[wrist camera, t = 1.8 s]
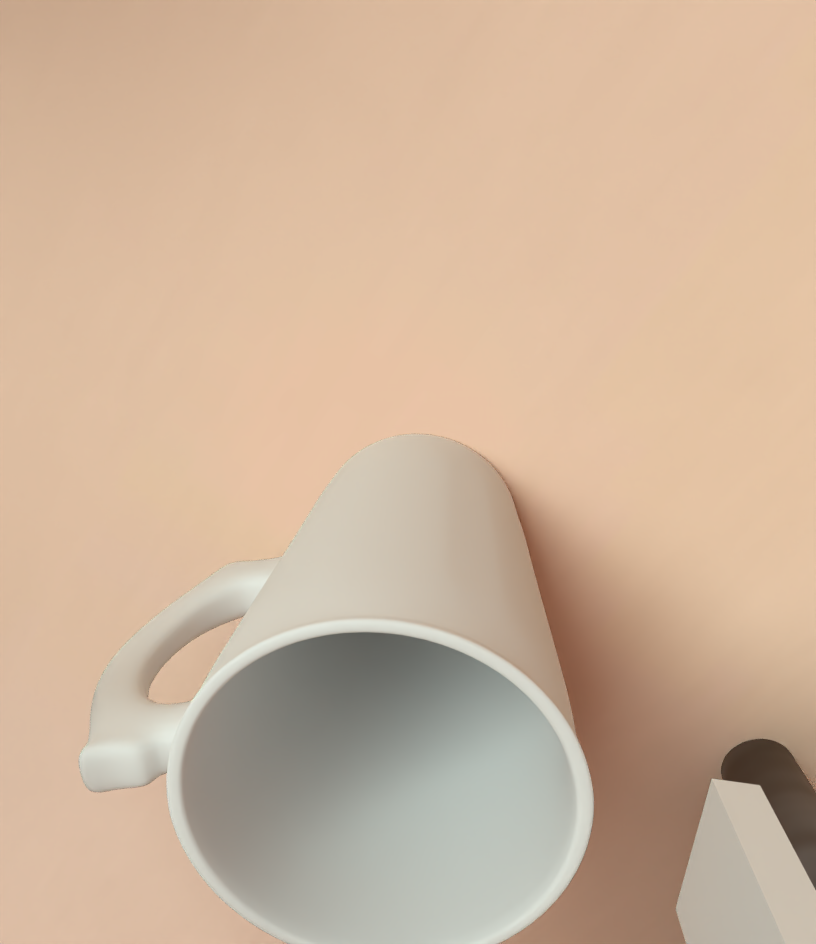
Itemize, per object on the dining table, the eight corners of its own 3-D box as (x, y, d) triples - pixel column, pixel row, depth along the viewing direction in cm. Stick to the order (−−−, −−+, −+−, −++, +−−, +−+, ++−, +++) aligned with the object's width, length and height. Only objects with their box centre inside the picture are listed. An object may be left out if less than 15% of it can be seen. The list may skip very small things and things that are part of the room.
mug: (520, 414, 22) (587, 607, 10) (532, 615, 24) (600, 966, 12) (194, 442, 23) (-78, 646, 11) (232, 633, 24) (33, 972, 13)
